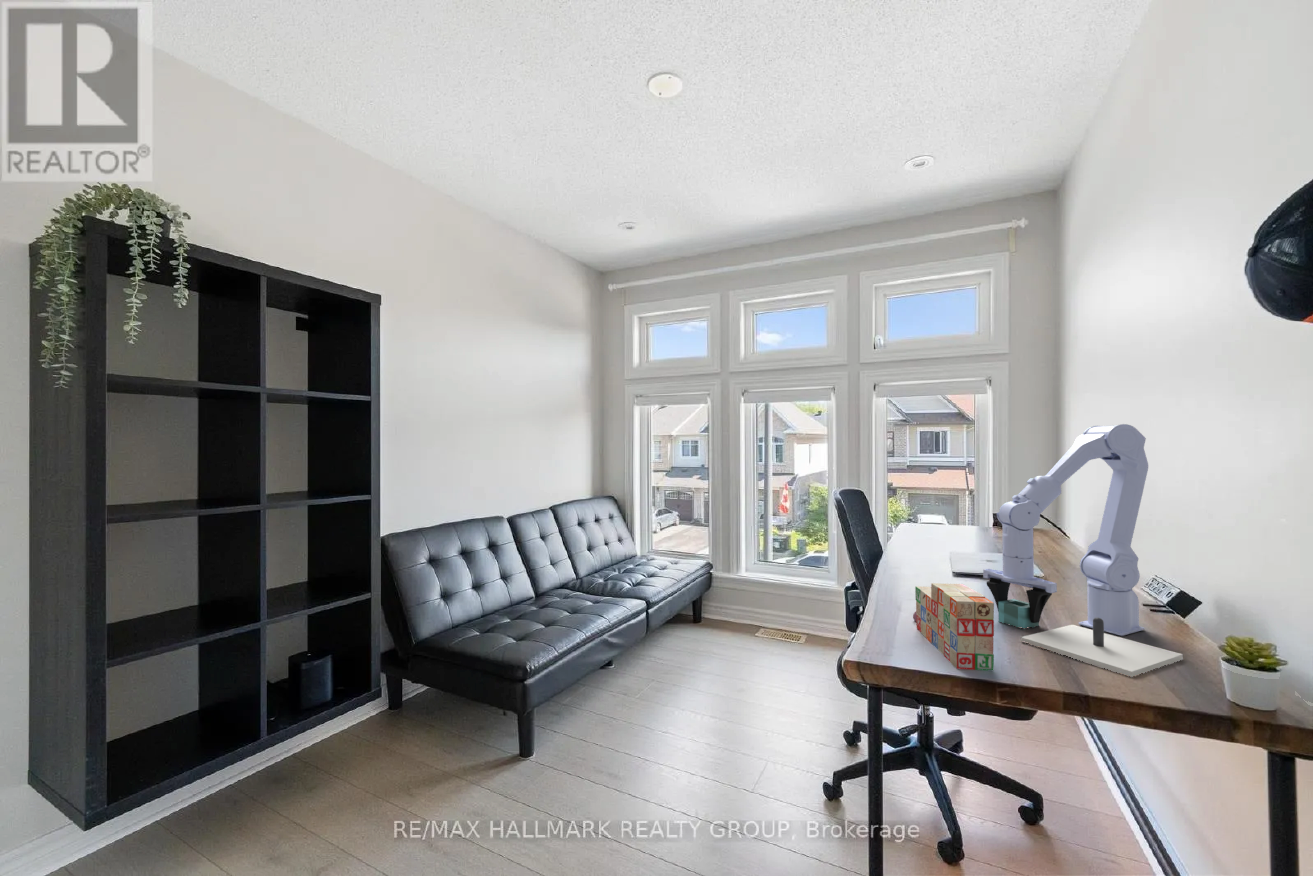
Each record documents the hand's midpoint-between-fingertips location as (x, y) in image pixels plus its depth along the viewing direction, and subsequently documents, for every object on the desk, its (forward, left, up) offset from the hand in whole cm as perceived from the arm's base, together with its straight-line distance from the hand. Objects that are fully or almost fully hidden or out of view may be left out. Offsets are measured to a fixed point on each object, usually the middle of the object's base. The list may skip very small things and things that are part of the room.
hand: (1018, 617), depth 117 cm
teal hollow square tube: (0, 0, -1) cm, 1 cm away
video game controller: (+15, -8, -2) cm, 17 cm away
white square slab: (+2, +16, -1) cm, 16 cm away
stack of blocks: (+26, +3, -2) cm, 27 cm away
